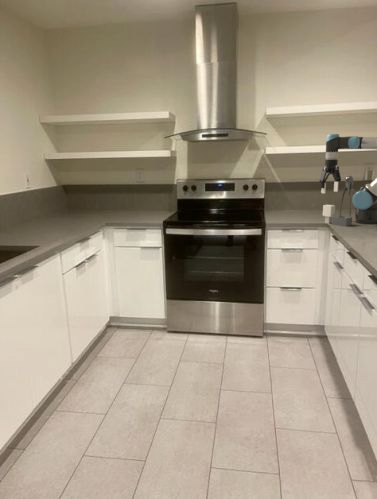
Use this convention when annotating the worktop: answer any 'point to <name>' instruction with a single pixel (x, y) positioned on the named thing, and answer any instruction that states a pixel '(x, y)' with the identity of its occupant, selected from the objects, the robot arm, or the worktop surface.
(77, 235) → the worktop surface
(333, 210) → the plug
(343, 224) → the socket block
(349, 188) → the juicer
